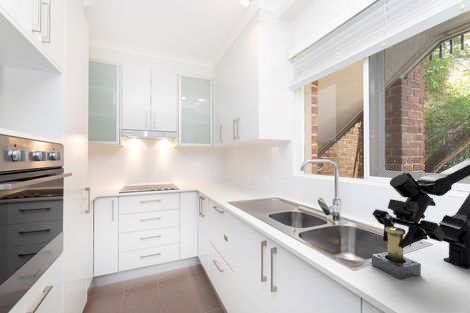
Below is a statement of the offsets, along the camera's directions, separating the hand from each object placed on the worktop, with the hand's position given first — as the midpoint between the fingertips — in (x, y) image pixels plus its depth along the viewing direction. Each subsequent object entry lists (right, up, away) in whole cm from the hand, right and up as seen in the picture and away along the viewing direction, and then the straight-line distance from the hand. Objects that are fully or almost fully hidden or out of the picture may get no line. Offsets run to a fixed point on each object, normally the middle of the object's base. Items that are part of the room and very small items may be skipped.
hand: (392, 243), depth 68 cm
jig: (+1, -8, 0) cm, 9 cm away
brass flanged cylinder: (+1, -7, 0) cm, 7 cm away
